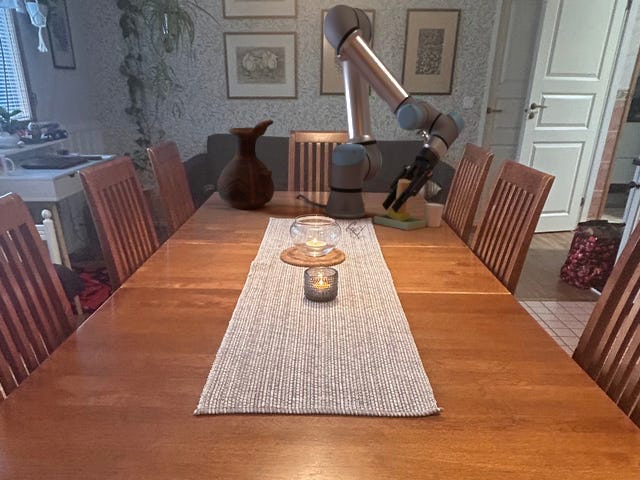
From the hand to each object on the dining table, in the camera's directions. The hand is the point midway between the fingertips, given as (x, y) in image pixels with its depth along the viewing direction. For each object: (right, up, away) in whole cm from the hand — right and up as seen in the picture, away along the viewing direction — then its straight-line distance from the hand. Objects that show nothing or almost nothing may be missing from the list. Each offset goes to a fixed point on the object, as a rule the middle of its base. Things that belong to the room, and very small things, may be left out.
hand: (389, 208), depth 206 cm
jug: (-52, +10, +24) cm, 58 cm away
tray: (+4, -4, +4) cm, 7 cm away
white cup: (+16, -4, +6) cm, 18 cm away
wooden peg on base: (+4, -1, +6) cm, 7 cm away
